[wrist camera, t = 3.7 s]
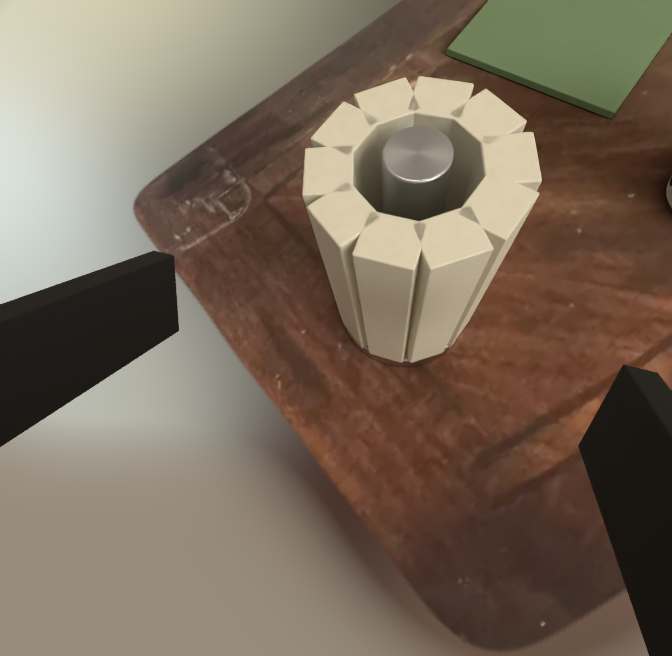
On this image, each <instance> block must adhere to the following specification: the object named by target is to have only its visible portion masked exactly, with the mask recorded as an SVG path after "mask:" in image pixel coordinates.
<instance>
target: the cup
mask: <svg viewBox="0 0 672 656" xmlns="http://www.w3.org/2000/svg"><path fill="white" fill-rule="evenodd" d="M666 196H667V200H668V202H669V204H670V206H671V208H672V175H671V177H670V180H669V182H668V184H667V188H666Z"/></svg>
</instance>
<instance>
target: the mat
mask: <svg viewBox="0 0 672 656" xmlns="http://www.w3.org/2000/svg"><path fill="white" fill-rule="evenodd" d="M671 33H672V0H488V2H487V3H486V4H485V5H484V6H483V7H482V9H481V10H480V11H479V12H478V13H477V14H476V16H475V17H474V18H473V19H472V20H471V21H470V23H469V24H468V25H467V26H466V27H465V28H464V30H463V31H462V32H461V33H460V34H459V35H458V37H457V38H456V39H455V40H454V41H453V42H452V43H451V45H450V46H449V47H448V48H447V54H446V55H448V56H450V57H453V58H455V59H458V60H461V61H463V62H466V63H468V64H471V65H473V66H476V67H479V68H481V69H484V70H486V71H489V72H491V73H494V74H496V75H499V76H502V77H504V78H507V79H509V80H512V81H514V82H517V83H520V84H522V85H525V86H527V87H530V88H532V89H535V90H538V91H540V92H543V93H545V94H548V95H550V96H553V97H556V98H558V99H561V100H563V101H566V102H568V103H571V104H573V105H576V106H579V107H581V108H584V109H586V110H589V111H591V112H594V113H597V114H599V115H602V116H604V117H607V118H609V119H611V118H612V117H613V116H614V114H615V113H616V111H617V110H618V109H619V107H620V106H621V104H622V103H623V101H624V100H625V99H626V97H627V96H628V94H629V93H630V91H631V90H632V89H633V87H634V86H635V84H636V83H637V81H638V80H639V78H640V77H641V76H642V74H643V73H644V71H645V70H646V68H647V67H648V66H649V64H650V63H651V61H652V60H653V58H654V57H655V56H656V54H657V53H658V51H659V50H660V48H661V47H662V46H663V44H664V43H665V41H666V40H667V38H668V37H669V36H670V34H671Z"/></svg>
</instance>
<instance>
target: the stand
mask: <svg viewBox="0 0 672 656" xmlns="http://www.w3.org/2000/svg"><path fill="white" fill-rule="evenodd" d="M453 160H454V148H453V145H452V143H451V141H450V139H449V138H448V137H447V136H446V135H445V134H444V133H442V132H441V131H439V130H437V129H435V128H432V127H427V126H413V127H408V128H405V129H402V130H400V131H398V132H397V133H395V134H394V135H393V136H391V137H390V138H389V140H388V141H387V142H386V144H385V146H384V148H383V151H382V193H383V213H384V214H389V215H393V216H398V217H402V218H407V219H411V220H416V221H422V220H425V219H428V218H431V217H434V216H437V215H440V214H442V212H443V207H444V203H445V198H446V193H447V189H448V184H449V179H450V174H451V170H452V165H453ZM347 331H348V329H347ZM348 333H349V335H350V337H351V339H352V340H353V342H354V343H355V344H356V345H357V347H358V348H359V349H360V350H361V351H363V352H364V353H365V354H366V355H368V356H369V357H371V358H373V359H374V360H376V361H379V362H381V363H384V364H387V365H391V366H397V367H412V366H418V365H423V364H426V363H428V362H431V361H433V360H435V359H437V358H439V357H440V356H441V355H443V354H444V353H446V352H447V351H448V350H449V349H450V348H451V347H452V346H453V345H452V346H451V347H448V346H446V348H445V350H444V352H443V353H441V354H437V355H434V356H431V357H428V358H425V359H422V360H419V361H416V362H413V363H410V362H409V359H408V356H407V354H406V352H405V355H404V359H403V362H402V363H400V362H396V361H393V360H390V359H386V358H383V357H380V356H377V355H373V354H370V353H369V351H368V345H367V346H365V347H364V348H361V347H360V345H359V344H358V343H357V341H356V340H355V339H354V337H353V336H352V335H351V333H350V332H349V331H348ZM460 334H461V333H460ZM458 337H459V336H458ZM458 337H457V339H458ZM457 339H456V340H457ZM456 340H455V342H456ZM455 342H454V343H455ZM454 343H453V344H454Z"/></svg>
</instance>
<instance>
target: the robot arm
mask: <svg viewBox="0 0 672 656" xmlns="http://www.w3.org/2000/svg"><path fill="white" fill-rule="evenodd" d="M175 281H176V280H175V265H174V256H173V255H169V254H165V253H161V252H156V251H152V252H149V253H146V254H143V255H140V256H138V257H135V258H132V259H129V260H126V261H123V262H121V263H117V264H115V265H112V266H109V267H106V268H103V269H101V270H97V271H95V272H92V273H89V274H86V275H83V276H81V277H78V278H75V279H72V280H69V281H66V282H63V283H61V284H57V285H55V286H52V287H49V288H46V289H43V290H40V291H38V292H35V293H32V294H29V295H26V296H23V297H20V298H18V299H15V300H12V301H9V302H6V303H3V304H0V447H1V446H2V445H4V444H6V443H7V442H9V441H10V440H12V439H13V438H15V437H16V436H18V435H19V434H21V433H22V432H24V431H25V430H27V429H29V428H30V427H32V426H33V425H35V424H36V423H38V422H39V421H41V420H43V419H44V418H46V417H47V416H49V415H50V414H52V413H53V412H55V411H56V410H58V409H59V408H61V407H62V406H64V405H65V404H67V403H69V402H70V401H72V400H73V399H75V398H76V397H78V396H79V395H81V394H82V393H84V392H86V391H87V390H89V389H90V388H92V387H93V386H95V385H96V384H98V383H99V382H101V381H102V380H104V379H106V378H107V377H109V376H110V375H111V374H113V373H115V372H116V371H118V370H119V369H121V368H122V367H124V366H126V365H127V364H129V363H130V362H132V361H133V360H135V359H136V358H138V357H139V356H141V355H142V354H144V353H145V352H147V351H148V350H150V349H151V348H153V347H155V346H156V345H158V344H159V343H161V342H162V341H164V340H165V339H167V338H169V337H170V336H172V335H173V334H175V333H176V332H178V331H179V324H178V310H177V295H176V283H175ZM579 449H580V452H581V455H582V458H583V461H584V464H585V467H586V470H587V473H588V476H589V479H590V482H591V485H592V488H593V491H594V494H595V497H596V500H597V502H598V505H599V508H600V511H601V514H602V517H603V520H604V523H605V526H606V529H607V532H608V535H609V538H610V541H611V544H612V547H613V550H614V553H615V556H616V559H617V562H618V565H619V567H620V570H621V573H622V576H623V579H624V582H625V585H626V588H627V591H628V594H629V597H630V600H631V603H632V606H633V609H634V612H635V615H636V618H637V621H638V624H639V626H640V630H641V632H642V635H643V638H644V641H645V644H646V647H647V650H648V653H649V656H672V391H671V390H670V388H669V387H668V386H667V384H666V383H665V382H664V381H663V379H662V378H661V377H660V375H659V374H658V373H656V372H652V371H648V370H643V369H639V368H635V367H631V366H627V365H623V366H622V368H621V370H620V372H619V373H618V375H617V377H616V379H615V381H614V382H613V384H612V386H611V388H610V390H609V391H608V393H607V395H606V397H605V399H604V401H603V402H602V404H601V406H600V408H599V410H598V411H597V413H596V415H595V417H594V419H593V420H592V422H591V424H590V426H589V428H588V429H587V431H586V433H585V435H584V437H583V438H582V440H581V442H580V444H579Z"/></svg>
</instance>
